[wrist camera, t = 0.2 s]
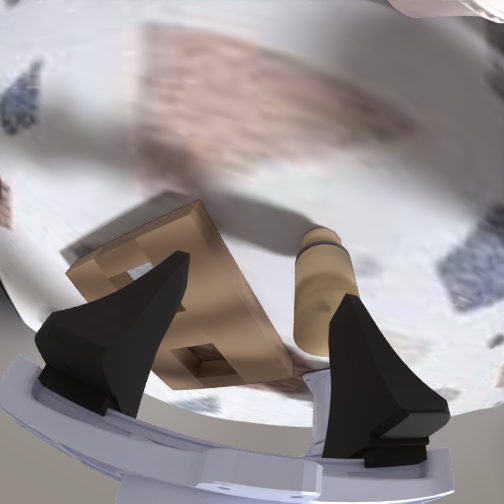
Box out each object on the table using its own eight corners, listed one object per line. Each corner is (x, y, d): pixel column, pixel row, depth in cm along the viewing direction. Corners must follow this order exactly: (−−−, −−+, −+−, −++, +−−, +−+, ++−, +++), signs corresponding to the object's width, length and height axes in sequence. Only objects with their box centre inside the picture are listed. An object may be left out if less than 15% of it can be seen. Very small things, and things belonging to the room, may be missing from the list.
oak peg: (351, 258, 23) (371, 346, 15) (305, 272, 24) (306, 362, 17) (337, 216, 21) (358, 299, 14) (287, 232, 22) (282, 320, 15)
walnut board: (293, 359, 31) (292, 377, 29) (178, 375, 36) (173, 390, 34) (199, 199, 22) (189, 214, 20) (77, 259, 27) (64, 273, 25)
